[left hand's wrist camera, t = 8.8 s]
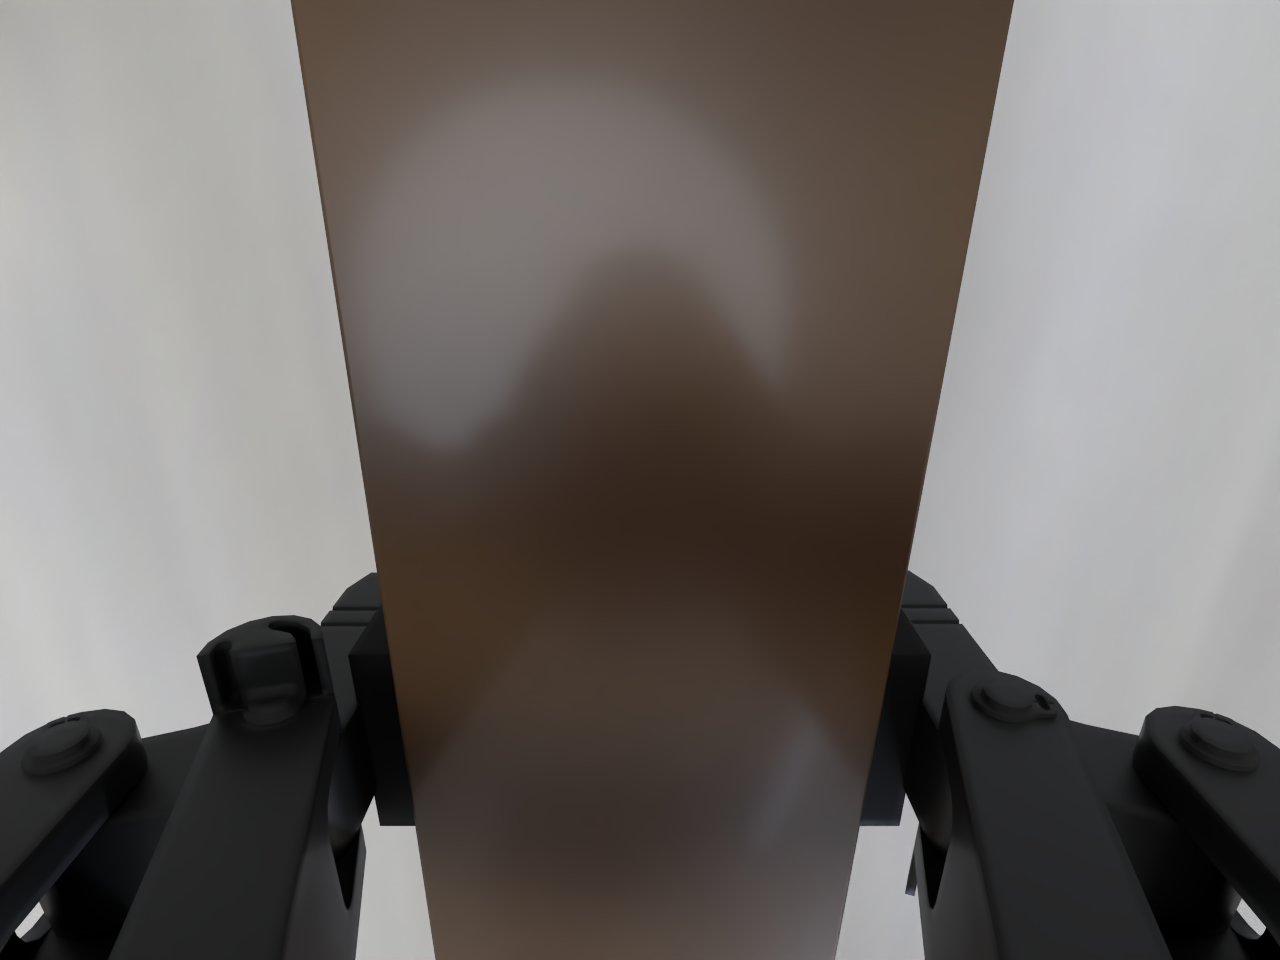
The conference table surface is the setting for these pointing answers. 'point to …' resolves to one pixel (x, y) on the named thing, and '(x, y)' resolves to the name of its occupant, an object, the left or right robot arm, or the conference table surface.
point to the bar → (644, 433)
